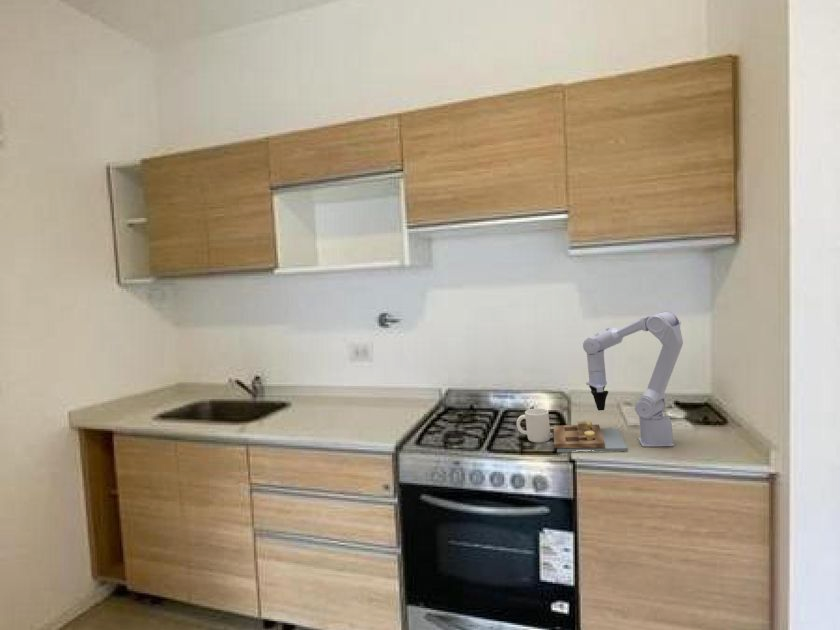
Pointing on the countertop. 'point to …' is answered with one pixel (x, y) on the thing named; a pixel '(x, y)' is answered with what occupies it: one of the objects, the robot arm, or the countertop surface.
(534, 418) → the mug
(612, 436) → the boss board
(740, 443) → the countertop surface
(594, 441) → the panel
